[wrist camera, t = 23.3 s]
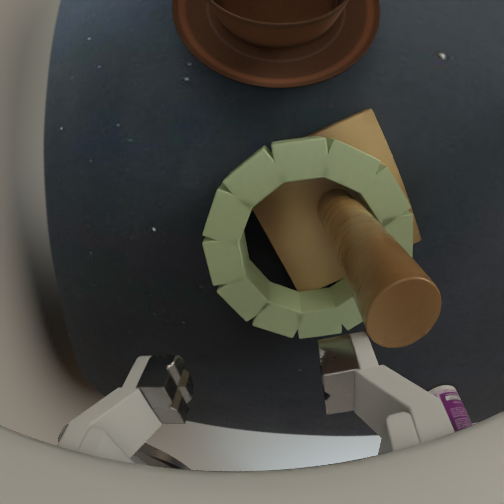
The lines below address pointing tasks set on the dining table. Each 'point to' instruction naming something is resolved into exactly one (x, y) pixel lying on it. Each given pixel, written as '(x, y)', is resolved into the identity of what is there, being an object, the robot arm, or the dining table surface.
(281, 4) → the cup and saucer
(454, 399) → the pill bottle
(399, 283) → the hanger post
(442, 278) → the dining table surface
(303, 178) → the ring
